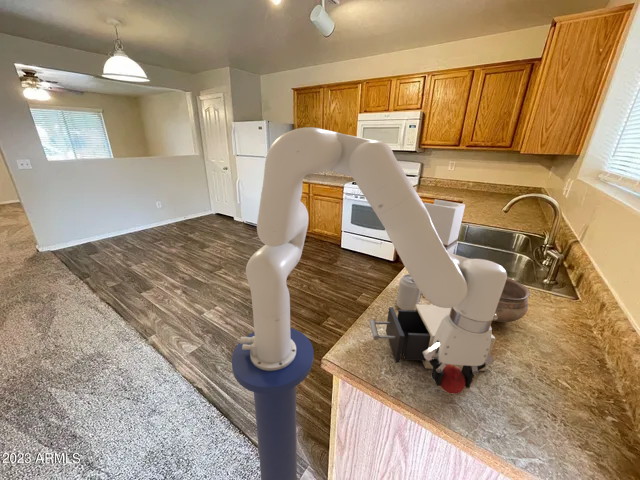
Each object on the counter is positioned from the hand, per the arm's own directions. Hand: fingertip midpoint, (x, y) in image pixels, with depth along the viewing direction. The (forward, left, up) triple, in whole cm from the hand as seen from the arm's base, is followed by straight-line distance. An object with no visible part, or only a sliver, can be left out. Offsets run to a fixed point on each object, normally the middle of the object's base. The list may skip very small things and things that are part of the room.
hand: (450, 381), depth 61 cm
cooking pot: (+29, +33, -5) cm, 44 cm away
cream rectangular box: (+6, +15, -5) cm, 17 cm away
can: (+1, +36, -5) cm, 36 cm away
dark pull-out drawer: (-6, +15, -4) cm, 16 cm away
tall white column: (+15, +53, -5) cm, 55 cm away
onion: (0, 0, -3) cm, 3 cm away
